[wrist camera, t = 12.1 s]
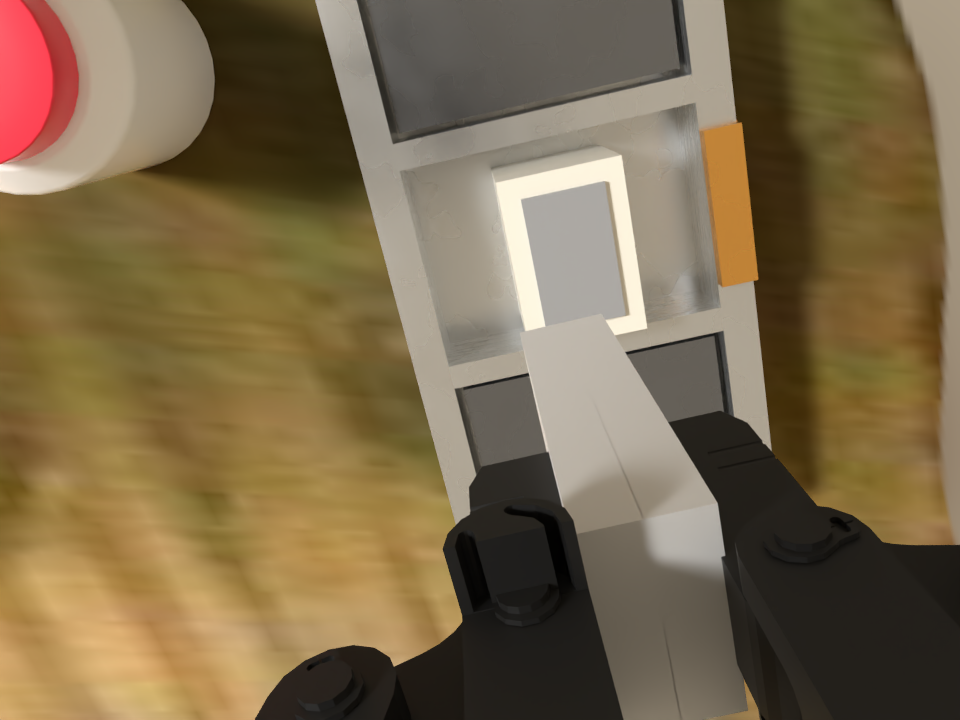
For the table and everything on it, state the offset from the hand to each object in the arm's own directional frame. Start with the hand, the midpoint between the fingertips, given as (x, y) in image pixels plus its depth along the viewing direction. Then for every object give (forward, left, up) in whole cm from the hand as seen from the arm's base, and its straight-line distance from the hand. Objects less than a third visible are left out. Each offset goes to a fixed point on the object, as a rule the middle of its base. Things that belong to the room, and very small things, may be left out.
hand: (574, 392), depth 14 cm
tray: (+1, +2, -21) cm, 21 cm away
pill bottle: (-9, -14, -21) cm, 27 cm away
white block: (+1, +2, -20) cm, 20 cm away
